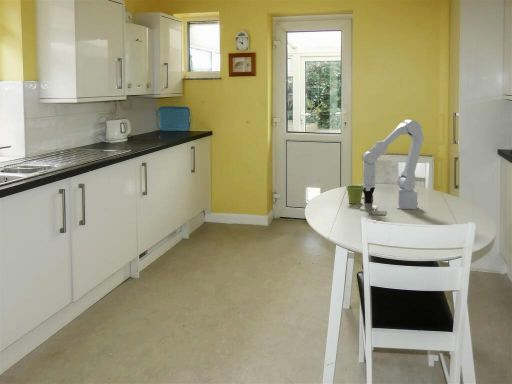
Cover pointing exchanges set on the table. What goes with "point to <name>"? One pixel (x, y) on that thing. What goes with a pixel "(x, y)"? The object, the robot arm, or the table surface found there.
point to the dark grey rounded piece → (365, 200)
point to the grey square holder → (368, 207)
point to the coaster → (377, 212)
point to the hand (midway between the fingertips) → (368, 202)
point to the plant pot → (355, 193)
